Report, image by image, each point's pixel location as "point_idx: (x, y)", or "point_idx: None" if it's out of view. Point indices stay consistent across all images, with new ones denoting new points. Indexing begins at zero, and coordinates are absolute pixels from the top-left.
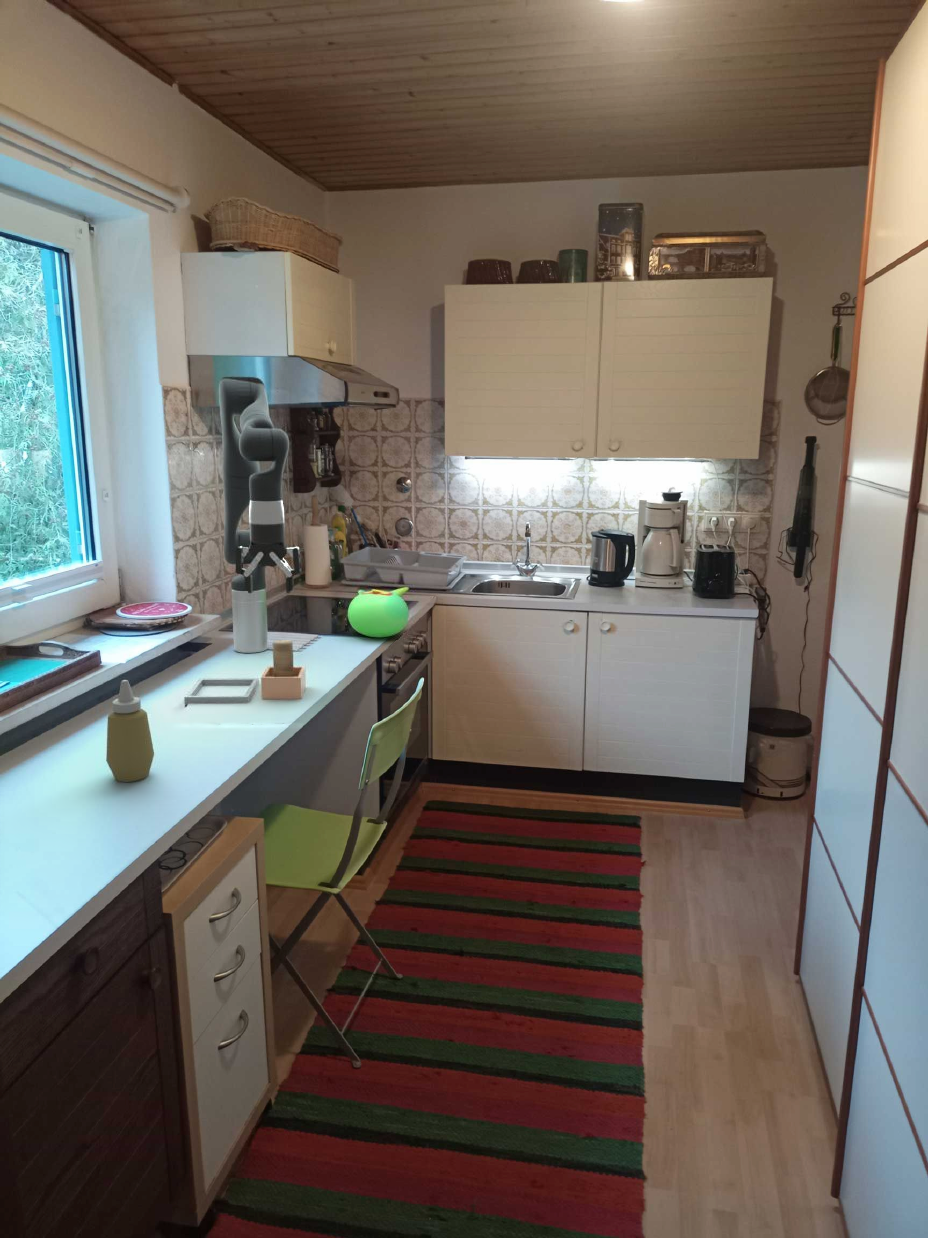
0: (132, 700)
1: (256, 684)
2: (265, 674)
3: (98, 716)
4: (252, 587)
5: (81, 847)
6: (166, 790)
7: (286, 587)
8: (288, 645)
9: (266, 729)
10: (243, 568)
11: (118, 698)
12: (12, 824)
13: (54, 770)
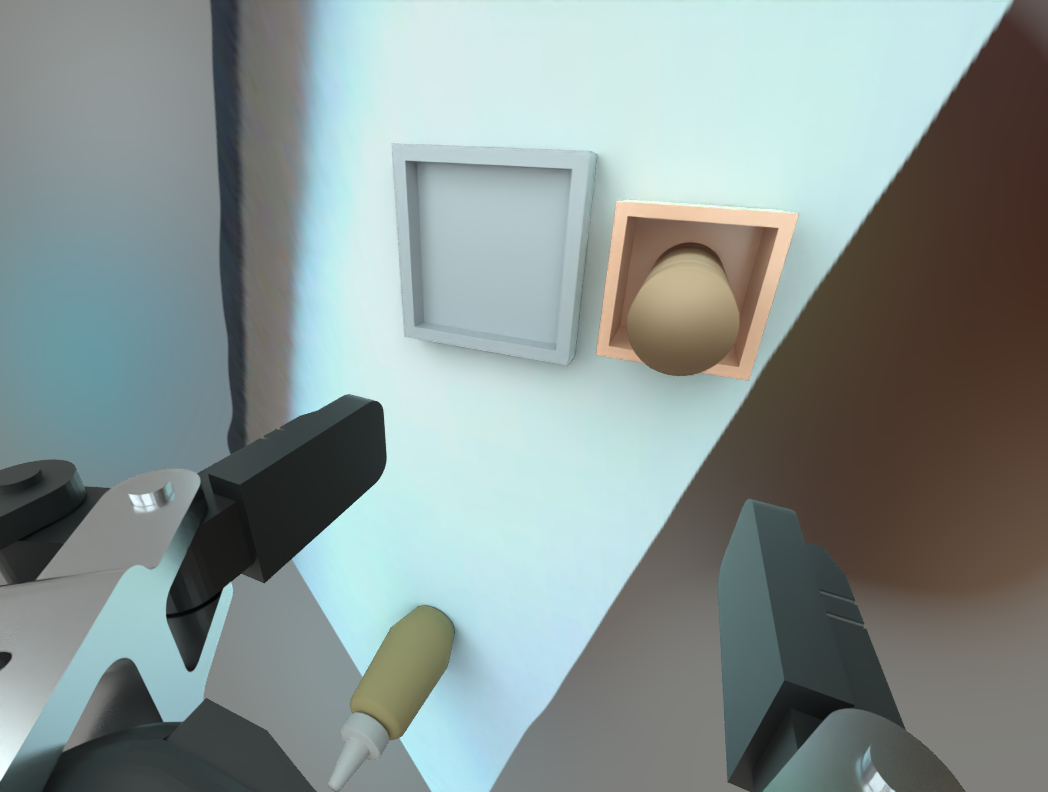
0: (369, 755)
1: (585, 206)
2: (611, 317)
3: (280, 359)
4: (353, 431)
5: (443, 740)
6: (490, 675)
7: (724, 635)
8: (709, 368)
9: (626, 518)
10: (44, 551)
11: (343, 730)
12: (362, 675)
13: (334, 568)
